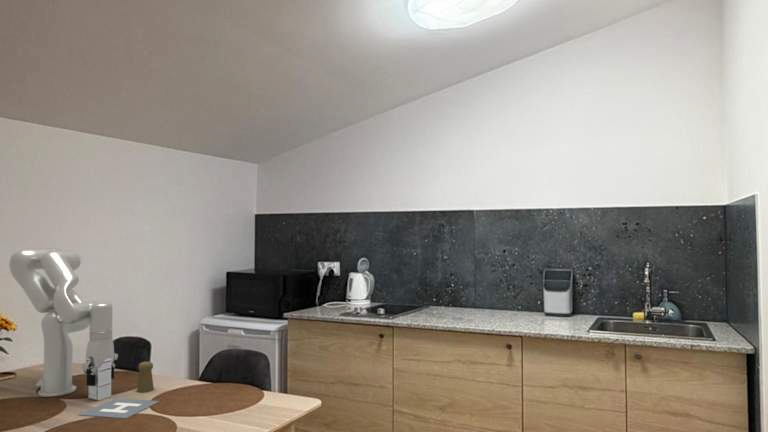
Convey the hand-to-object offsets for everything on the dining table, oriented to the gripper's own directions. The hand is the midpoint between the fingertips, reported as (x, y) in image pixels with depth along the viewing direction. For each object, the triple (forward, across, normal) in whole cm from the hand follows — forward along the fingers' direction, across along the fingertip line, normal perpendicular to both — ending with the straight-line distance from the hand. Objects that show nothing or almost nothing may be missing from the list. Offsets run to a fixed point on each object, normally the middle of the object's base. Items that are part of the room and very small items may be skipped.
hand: (100, 382), depth 194 cm
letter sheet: (+6, +9, +15) cm, 19 cm away
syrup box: (+6, 0, -1) cm, 6 cm away
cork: (+6, -12, +10) cm, 17 cm away
